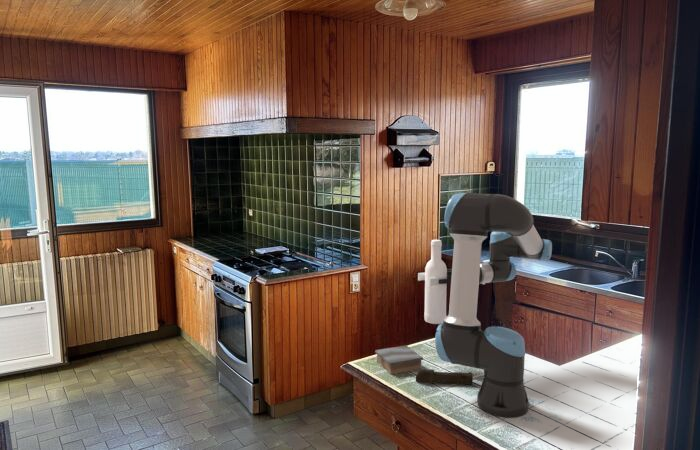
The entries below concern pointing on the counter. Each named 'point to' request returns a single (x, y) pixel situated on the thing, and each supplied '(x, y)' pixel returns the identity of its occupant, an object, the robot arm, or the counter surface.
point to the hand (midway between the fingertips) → (424, 279)
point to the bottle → (437, 293)
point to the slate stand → (399, 359)
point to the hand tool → (443, 377)
